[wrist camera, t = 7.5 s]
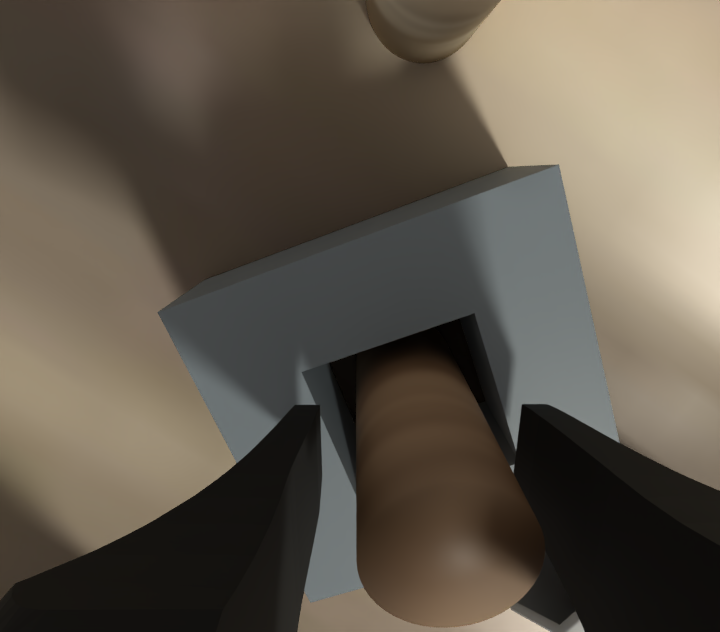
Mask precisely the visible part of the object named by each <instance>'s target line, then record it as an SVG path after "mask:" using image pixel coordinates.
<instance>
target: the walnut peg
mask: <svg viewBox="0 0 720 632" xmlns="http://www.w3.org/2000/svg"><path fill="white" fill-rule="evenodd" d="M544 558H545V541H544V535H543V532H542V529H541V526H540V524H539V522H538V520H537V518H536V516H535V514H534V512H533V511H532V509H531V507H530V505H529V503H528V501H527V499H526V497H525V495H524V493H523V491H522V489H521V487H520V485H519V483H518V481H517V479H516V477H515V475H514V473H513V472H512V470H511V468H510V466H509V464H508V462H507V460H506V458H505V456H504V454H503V452H502V450H501V448H500V446H499V444H498V442H497V440H496V438H495V436H494V435H493V433H492V431H491V429H490V427H489V425H488V423H487V421H486V419H485V417H484V415H483V413H482V411H481V409H480V407H479V405H478V403H477V401H476V399H475V397H474V396H473V394H472V392H471V390H470V388H469V386H468V384H467V382H466V380H465V378H464V376H463V374H462V372H461V370H460V368H459V366H458V364H457V362H456V360H455V358H454V357H453V355H452V353H451V351H450V349H449V347H448V345H447V343H446V341H445V339H444V338H443V336H442V335H441V334H440V333H439V332H438V331H437V330H436V329H435V328H434V327H432V328H430V329H427V330H424V331H421V332H418V333H415V334H412V335H409V336H406V337H403V338H400V339H397V340H394V341H391V342H388V343H385V344H383V345H380V346H377V347H374V348H371V349H368V350H365V351H362V352H359V353H357V357H356V562H357V571H358V574H359V578H360V581H361V583H362V585H363V587H364V589H365V590H366V592H367V593H368V595H369V596H370V597H371V598H372V599H373V600H374V601H375V603H376V604H378V605H379V606H380V607H381V608H382V609H384V610H385V611H387V612H388V613H390V614H392V615H393V616H395V617H398V618H400V619H402V620H404V621H407V622H410V623H413V624H418V625H422V626H429V627H446V628H447V627H459V626H465V625H471V624H474V623H478V622H482V621H484V620H487V619H490V618H492V617H494V616H496V615H498V614H500V613H502V612H504V611H505V610H507V609H509V608H510V607H512V606H513V605H514V604H516V603H517V602H518V601H519V600H520V599H521V598H522V597H523V596H524V595H525V594H526V593H527V592H528V591H529V590H530V589H531V587H532V586H533V585H534V583H535V581H536V580H537V578H538V576H539V574H540V571H541V569H542V566H543V562H544Z"/></svg>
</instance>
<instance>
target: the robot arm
mask: <svg viewBox="0 0 720 632" xmlns="http://www.w3.org/2000/svg"><path fill="white" fill-rule="evenodd" d="M514 475H515V477H516V479H517V481H518V483H519V485H520V487H521V489H522V491H523V493H524V495H525V497H526V499H527V501H528V503H529V505H530V507H531V509H532V511H533V512H534V514H535V516H536V518H537V520H538V522H539V524H540V526H541V529H542V532H543V535H544V541H545V552H546V554H547V556H548V557H549V559H550V561H551V563H552V565H553V567H554V569H555V571H556V573H557V575H558V577H559V579H560V581H561V583H562V585H563V587H564V589H565V591H566V593H567V595H568V597H569V599H570V601H571V602H572V605H573V607H574V609H575V611H576V613H577V615H578V618H579V620H580V622H581V624H582V626H583V629H584V631H585V632H720V491H719V490H716V489H714V488H712V487H709V486H707V485H704V484H702V483H700V482H697V481H695V480H693V479H690V478H688V477H686V476H684V475H682V474H680V473H677V472H675V471H673V470H671V469H669V468H667V467H665V466H663V465H661V464H659V463H657V462H655V461H653V460H651V459H649V458H647V457H645V456H643V455H641V454H639V453H637V452H635V451H634V450H632V449H630V448H628V447H626V446H624V445H622V444H620V443H619V442H617V441H615V440H613V439H611V438H610V437H608V436H606V435H604V434H602V433H601V432H599V431H597V430H595V429H594V428H592V427H590V426H588V425H586V424H585V423H583V422H581V421H579V420H578V419H576V418H574V417H572V416H570V415H568V414H567V413H565V412H563V411H561V410H559V409H557V408H555V407H553V406H550V405H548V404H522V407H521V415H520V423H519V432H518V440H517V448H516V456H515V465H514ZM321 487H322V450H321V418H320V405H294V406H293V407H292V408H291V409H290V410H289V411H288V412H287V414H286V415H285V416H284V417H283V418H282V419H281V420H280V421H279V422H278V424H277V425H276V426H275V427H274V428H273V429H272V430H271V431H270V432H269V433H268V434H267V435H266V436H265V437H264V438H263V439H262V440H261V441H260V442H259V443H258V444H257V445H256V446H255V447H254V448H253V449H252V450H251V451H250V452H249V453H248V454H247V455H246V456H244V457H243V458H242V459H241V460H240V461H239V462H238V463H237V464H236V465H234V466H233V467H232V468H231V469H230V470H229V471H227V472H226V473H225V474H224V475H222V476H221V477H220V478H218V479H217V480H216V481H214V482H213V483H212V484H210V485H209V486H207V487H206V488H205V489H203V490H202V491H200V492H199V493H198V494H196V495H195V496H193V497H192V498H190V499H188V500H187V501H185V502H184V503H182V504H180V505H179V506H177V507H175V508H174V509H172V510H170V511H169V512H167V513H165V514H164V515H162V516H161V517H159V518H157V519H156V520H154V521H152V522H150V523H149V524H147V525H145V526H143V527H141V528H139V529H137V530H135V531H134V532H132V533H130V534H128V535H126V536H124V537H122V538H120V539H118V540H116V541H114V542H112V543H110V544H108V545H105V546H103V547H101V548H99V549H97V550H95V551H93V552H90V553H88V554H86V555H84V556H81V557H79V558H77V559H74V560H72V561H69V562H67V563H65V564H62V565H60V566H57V567H55V568H52V569H50V570H48V571H45V572H43V573H40V574H38V575H36V576H33V577H31V578H28V579H25V580H23V581H20V582H18V583H15V585H14V586H13V587H12V588H11V589H10V590H9V591H8V592H7V593H6V595H5V596H4V597H3V598H2V599H1V600H0V632H297V630H298V622H299V616H300V610H301V604H302V599H303V594H304V589H305V584H306V579H307V574H308V569H309V564H310V559H311V554H312V549H313V544H314V538H315V533H316V528H317V523H318V518H319V511H320V500H321Z"/></svg>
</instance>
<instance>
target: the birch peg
mask: <svg viewBox="0 0 720 632" xmlns="http://www.w3.org/2000/svg"><path fill="white" fill-rule="evenodd" d="M500 1H501V0H366V5H367V12H368V16H369V20H370V22H371V25H372V28H373V30H374V32H375V33H376V35H377V37H378V38H379V40H380V41H381V42H382V44H383V45H384V46H385V47H386V48H387V49H388V50H390V51H391V52H392V53H393V54H395V55H397V56H398V57H400V58H402V59H405V60H407V61H411V62H416V63H430V62H436V61H439V60H442V59H444V58H446V57H448V56H450V55H452V54H453V53H455V52H456V51H458V50H459V49H460V48H461V47H462V46H463V45H464V44H465V43H466V42H467V41H468V40H469V38H470V37H471V36H472V35H473V34H474V32H475V31H476V30H477V29H478V27H479V26H480V25H481V24H482V23H483V21H484V20H485V19H486V18H487V16H488V15H489V14H490V13H491V12H492V10H493V9H494V8H495V7H496V5H497V4H498V3H499V2H500Z"/></svg>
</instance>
